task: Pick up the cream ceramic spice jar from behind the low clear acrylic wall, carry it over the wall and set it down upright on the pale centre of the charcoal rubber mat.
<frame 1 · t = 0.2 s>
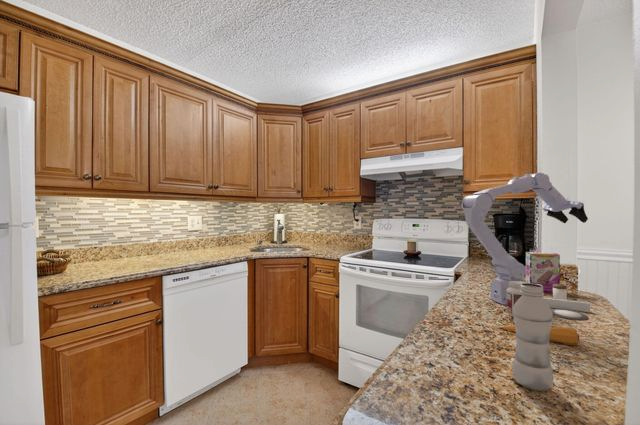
hand: (575, 221, 113), 31 cm above the countertop, tool tilted 45°, fingers open, 7 cm apart
pill bottle: (517, 315, 97), on the countertop
plastic bottle: (532, 386, 58), on the countertop
candy bar box: (542, 291, 126), on the countertop
ring mat: (567, 314, 97), on the countertop
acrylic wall: (563, 308, 103), on the countertop
carrot: (531, 336, 81), on the countertop
spice jar: (559, 304, 108), on the countertop
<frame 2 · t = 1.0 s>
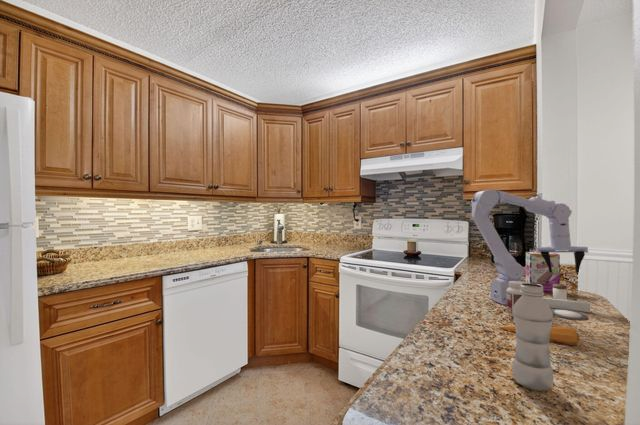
hand: (563, 271, 108), 12 cm above the countertop, tool pointing down, fingers open, 7 cm apart
nothing on the countertop moved.
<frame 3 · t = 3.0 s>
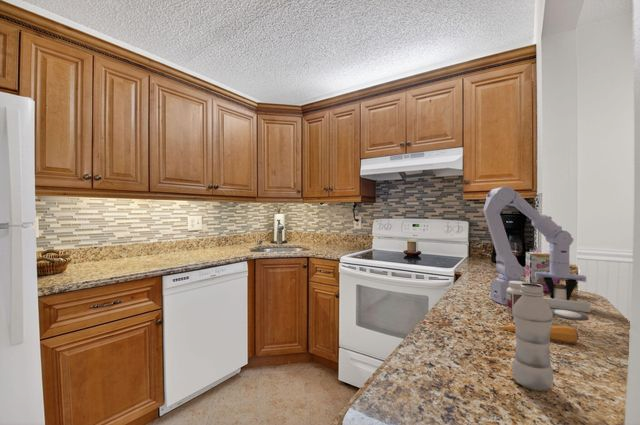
hand: (559, 298, 108), 2 cm above the countertop, tool pointing down, fingers closed on spice jar, 4 cm apart
spice jar: (559, 304, 108), on the countertop, touching gripper
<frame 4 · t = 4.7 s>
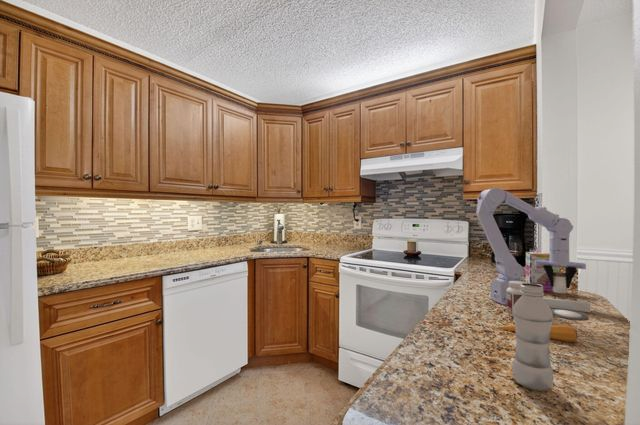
hand: (559, 286, 108), 6 cm above the countertop, tool pointing down, fingers closed on spice jar, 4 cm apart
spice jar: (559, 291, 108), point 4 cm above the countertop, touching gripper
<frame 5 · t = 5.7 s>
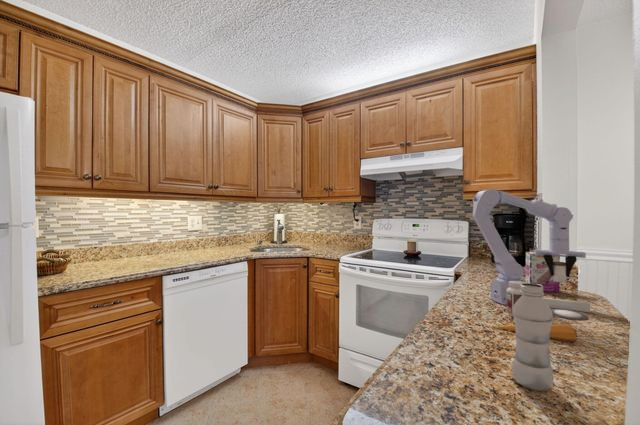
hand: (559, 276, 108), 10 cm above the countertop, tool pointing down, fingers closed on spice jar, 4 cm apart
spice jar: (559, 281, 108), point 8 cm above the countertop, touching gripper
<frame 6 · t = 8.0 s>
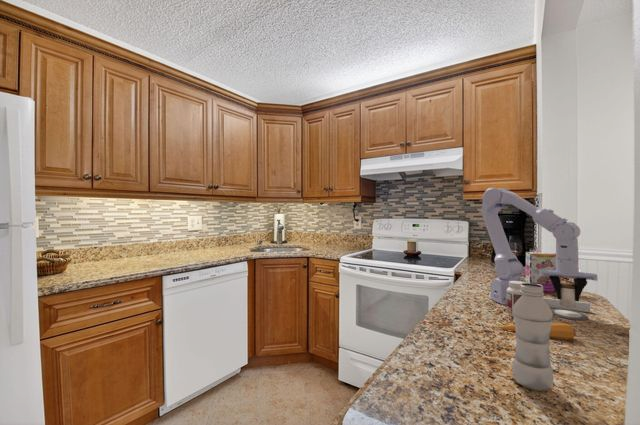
hand: (567, 299, 97), 5 cm above the countertop, tool pointing down, fingers closed on spice jar, 4 cm apart
spice jar: (567, 305, 97), point 3 cm above the countertop, touching gripper
when the fingers open (3 cm above the countertop, at t = 8.8 s): spice jar drops 1 cm, resting on ring mat.
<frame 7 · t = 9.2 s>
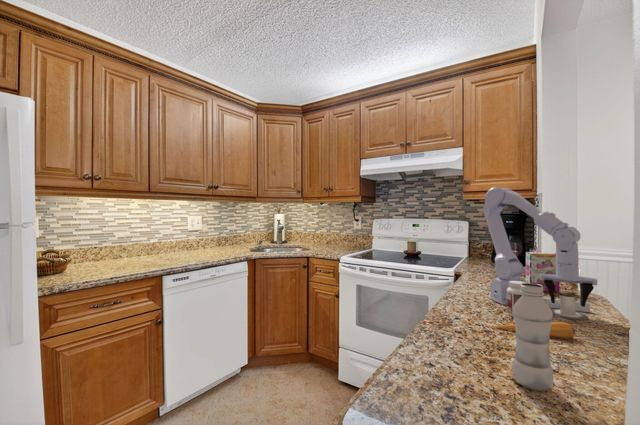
hand: (567, 304, 97), 4 cm above the countertop, tool pointing down, fingers open, 7 cm apart
spice jar: (567, 313, 97), resting on ring mat
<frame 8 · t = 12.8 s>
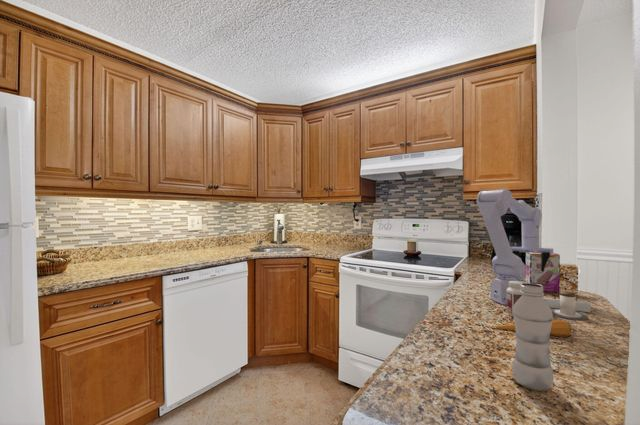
hand: (530, 270, 119), 10 cm above the countertop, tool pointing down, fingers open, 7 cm apart
at the end: spice jar 0.1 cm from the ring mat (horizontally); spice jar tilted 0°; the gripper is holding nothing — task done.
